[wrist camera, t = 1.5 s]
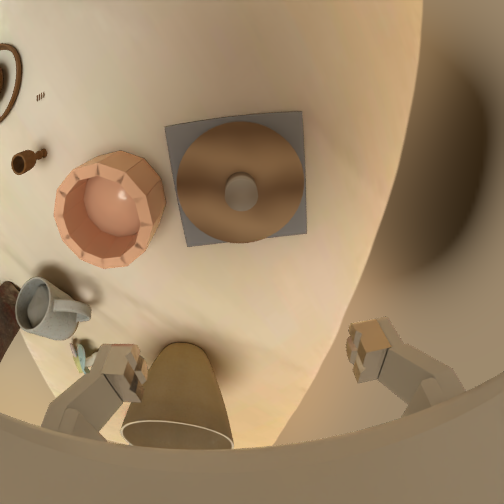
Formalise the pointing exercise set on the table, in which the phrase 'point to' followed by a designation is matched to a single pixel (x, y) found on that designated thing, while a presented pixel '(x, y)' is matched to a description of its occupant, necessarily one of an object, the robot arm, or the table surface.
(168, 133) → the mat
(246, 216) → the lid
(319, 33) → the table surface
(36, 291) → the ceramic mug
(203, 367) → the plant pot
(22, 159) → the place setting
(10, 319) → the brown textured cylinder
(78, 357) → the pacifier
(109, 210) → the bowl
